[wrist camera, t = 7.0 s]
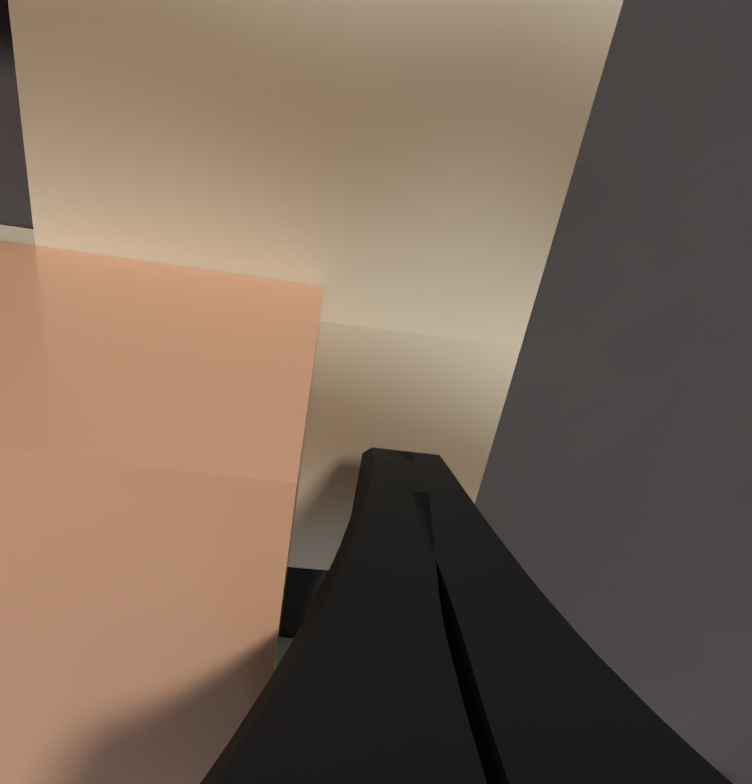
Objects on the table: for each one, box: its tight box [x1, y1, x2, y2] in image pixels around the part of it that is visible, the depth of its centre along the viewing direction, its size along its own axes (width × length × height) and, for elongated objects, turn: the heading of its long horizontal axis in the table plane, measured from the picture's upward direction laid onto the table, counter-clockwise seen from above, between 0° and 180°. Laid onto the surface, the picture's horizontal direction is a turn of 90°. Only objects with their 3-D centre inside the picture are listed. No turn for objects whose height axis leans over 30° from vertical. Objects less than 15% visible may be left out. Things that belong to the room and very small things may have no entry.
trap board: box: [0, 0, 623, 671], centre depth 10 cm, size 20×12×4 cm, turn 171°
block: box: [0, 240, 324, 784], centre depth 7 cm, size 4×4×4 cm
